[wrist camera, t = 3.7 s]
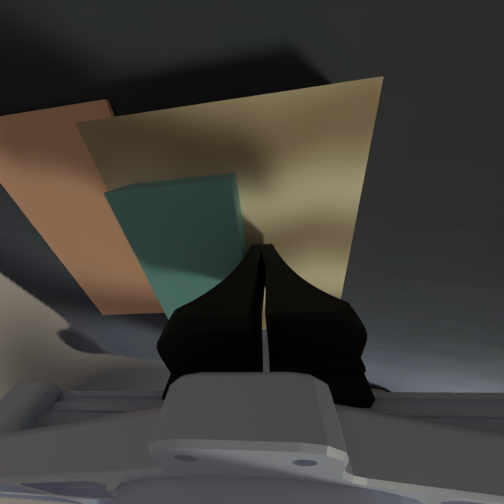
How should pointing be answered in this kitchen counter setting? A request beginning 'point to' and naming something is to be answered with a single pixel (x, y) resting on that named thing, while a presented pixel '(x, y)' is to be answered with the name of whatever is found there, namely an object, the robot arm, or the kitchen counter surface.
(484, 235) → the kitchen counter surface
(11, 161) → the terracotta mat
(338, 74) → the kitchen counter surface
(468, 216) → the kitchen counter surface
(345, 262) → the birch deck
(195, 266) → the teal rectangular block
